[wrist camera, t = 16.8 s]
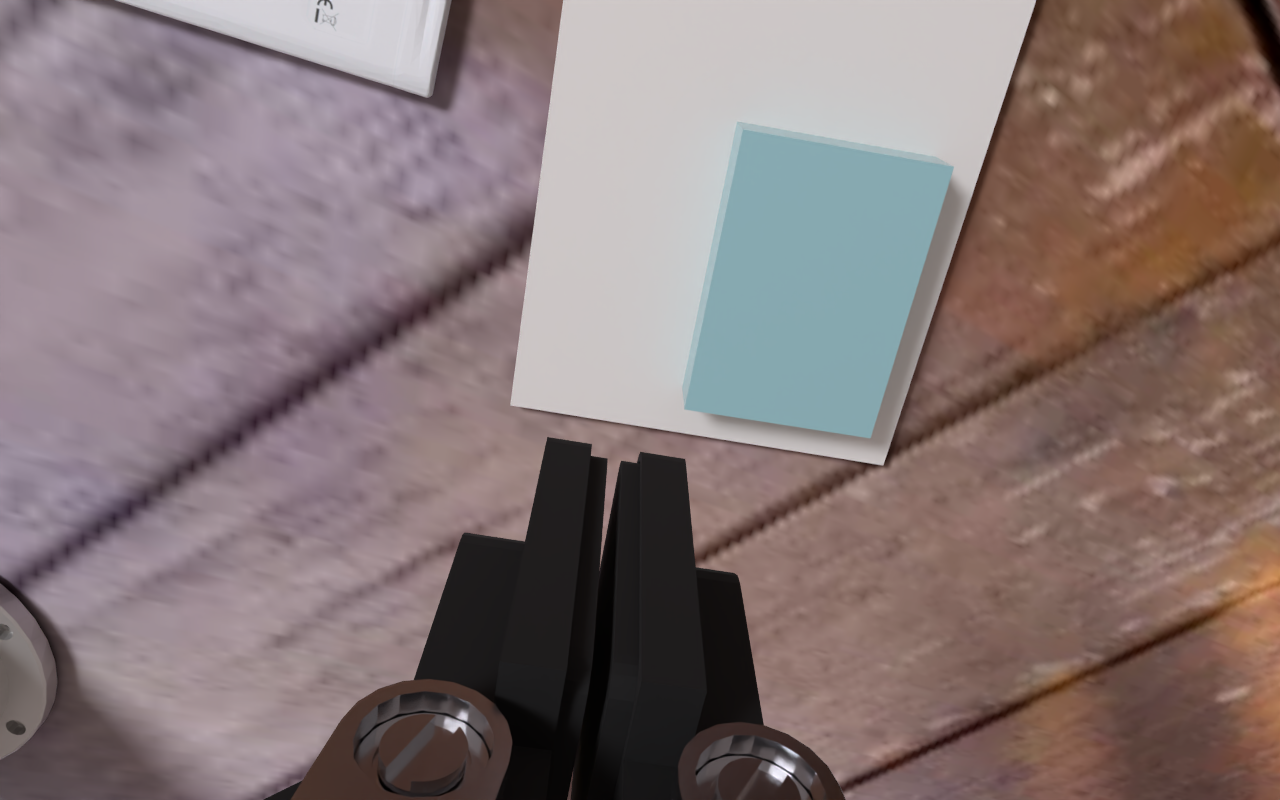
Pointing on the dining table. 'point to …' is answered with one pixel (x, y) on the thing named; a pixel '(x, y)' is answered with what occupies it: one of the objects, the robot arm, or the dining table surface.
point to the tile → (810, 278)
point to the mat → (696, 169)
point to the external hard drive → (332, 33)
